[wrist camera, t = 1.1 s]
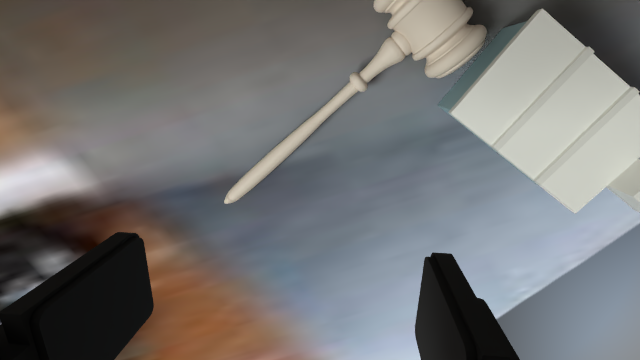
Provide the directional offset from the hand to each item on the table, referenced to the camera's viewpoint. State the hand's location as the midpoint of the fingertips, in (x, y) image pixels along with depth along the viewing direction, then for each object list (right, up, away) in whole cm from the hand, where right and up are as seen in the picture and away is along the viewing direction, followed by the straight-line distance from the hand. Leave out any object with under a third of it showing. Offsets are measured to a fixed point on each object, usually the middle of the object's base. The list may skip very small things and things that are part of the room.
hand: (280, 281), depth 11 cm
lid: (+23, +7, +17) cm, 30 cm away
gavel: (+2, +11, +25) cm, 27 cm away
